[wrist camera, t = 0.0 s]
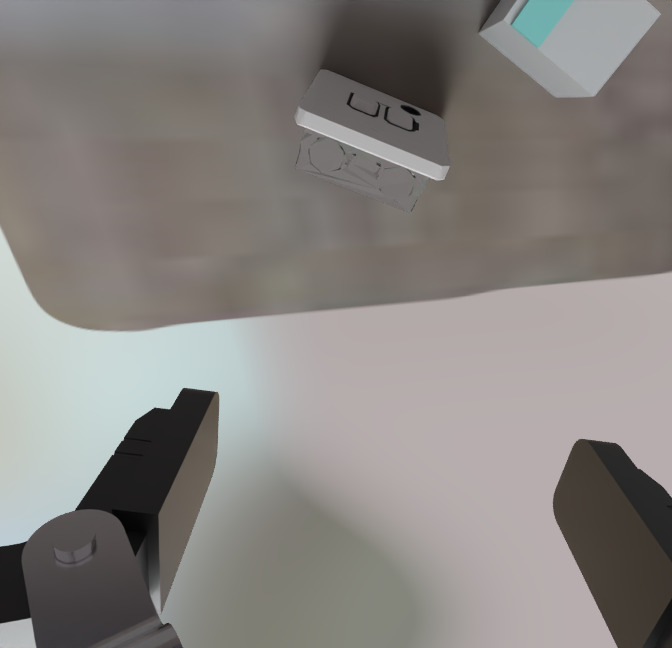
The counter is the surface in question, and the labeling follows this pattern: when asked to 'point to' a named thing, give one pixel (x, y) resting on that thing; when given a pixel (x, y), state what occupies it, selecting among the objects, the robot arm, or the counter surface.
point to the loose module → (568, 39)
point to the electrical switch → (369, 141)
